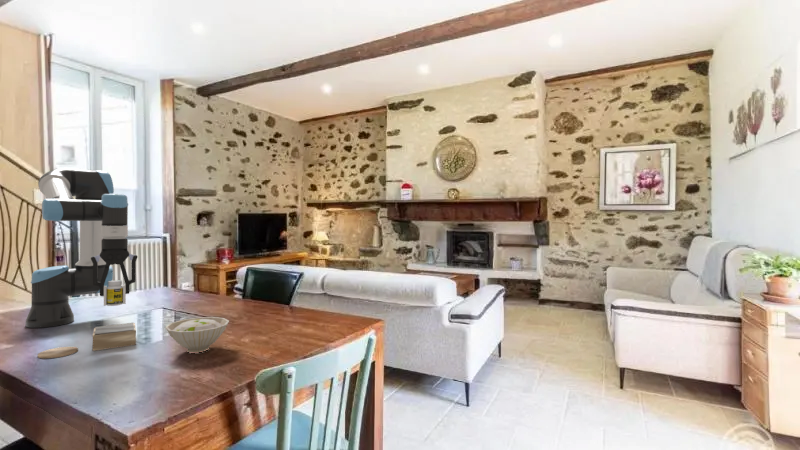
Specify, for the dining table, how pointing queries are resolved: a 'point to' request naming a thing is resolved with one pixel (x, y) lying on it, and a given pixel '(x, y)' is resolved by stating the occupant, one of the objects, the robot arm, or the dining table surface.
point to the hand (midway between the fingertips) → (114, 303)
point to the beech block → (114, 336)
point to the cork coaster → (57, 352)
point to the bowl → (197, 332)
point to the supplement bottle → (114, 293)
